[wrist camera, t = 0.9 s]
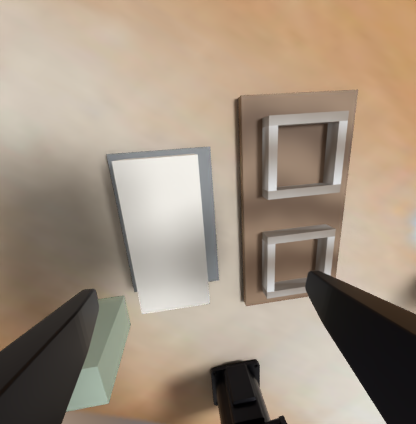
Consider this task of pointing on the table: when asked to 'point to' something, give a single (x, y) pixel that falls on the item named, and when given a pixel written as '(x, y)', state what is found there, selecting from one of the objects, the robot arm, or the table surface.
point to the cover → (164, 230)
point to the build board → (292, 188)
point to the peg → (102, 355)
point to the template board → (206, 198)
